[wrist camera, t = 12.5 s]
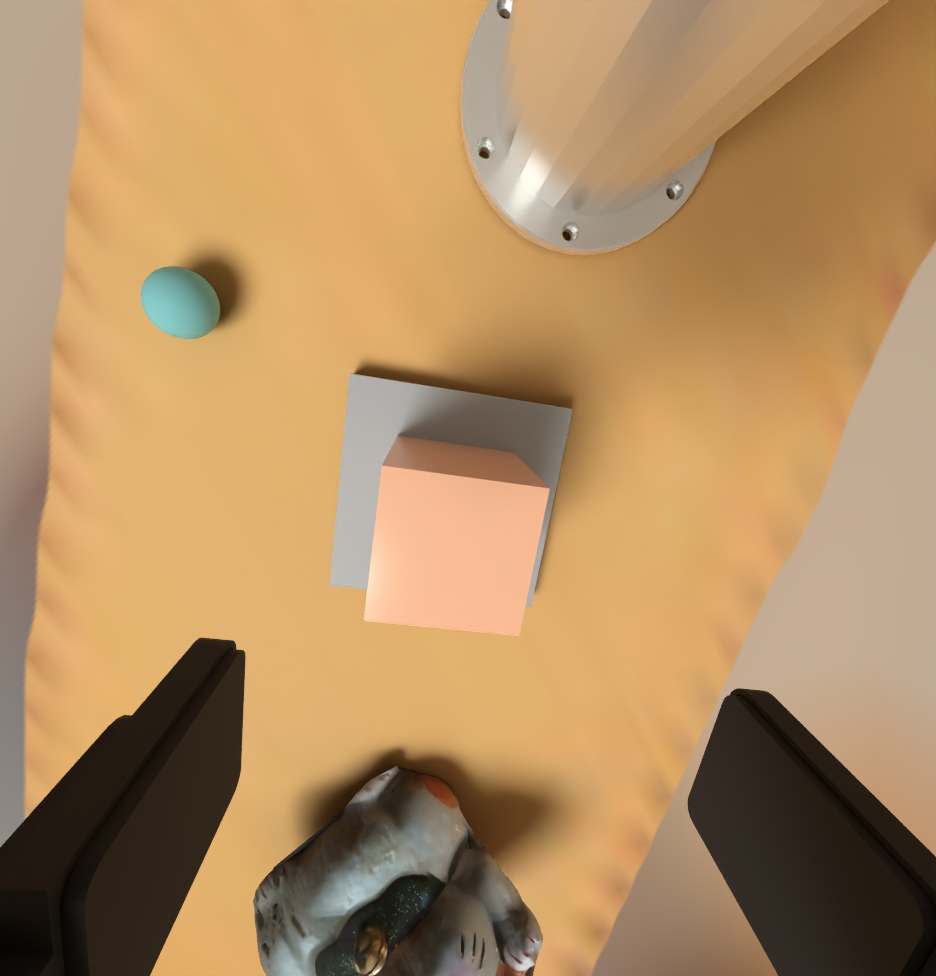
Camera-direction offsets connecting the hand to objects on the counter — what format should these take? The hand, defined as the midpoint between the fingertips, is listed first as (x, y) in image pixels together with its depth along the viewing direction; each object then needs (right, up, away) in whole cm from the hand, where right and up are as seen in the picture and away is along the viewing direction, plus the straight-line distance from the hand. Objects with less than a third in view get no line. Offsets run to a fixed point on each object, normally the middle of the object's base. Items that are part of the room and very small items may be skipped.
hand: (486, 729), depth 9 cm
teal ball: (-14, +14, +15) cm, 25 cm away
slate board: (-2, +4, +18) cm, 19 cm away
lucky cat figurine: (-5, -21, +24) cm, 32 cm away
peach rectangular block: (-1, +4, +17) cm, 17 cm away
